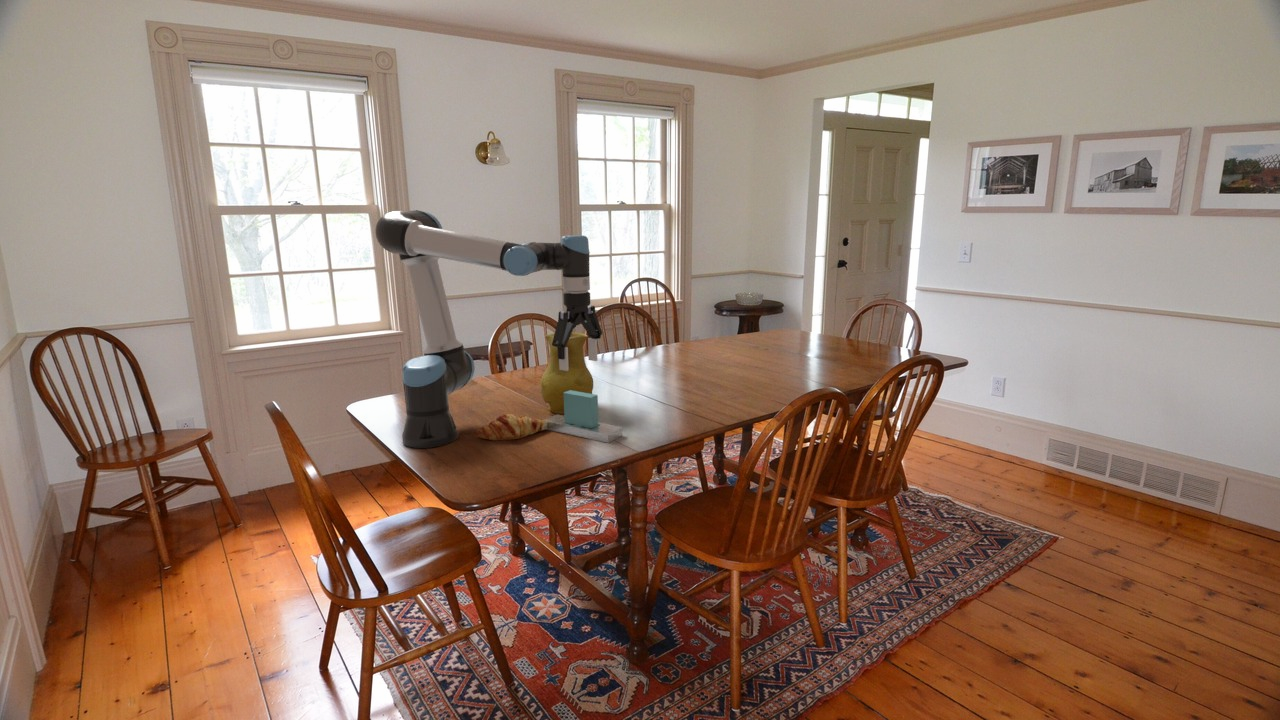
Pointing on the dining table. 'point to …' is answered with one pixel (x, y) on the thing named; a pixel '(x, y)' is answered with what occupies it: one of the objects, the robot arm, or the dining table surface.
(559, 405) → the pitcher
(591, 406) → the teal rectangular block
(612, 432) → the rail
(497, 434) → the croissant
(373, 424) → the dining table surface
